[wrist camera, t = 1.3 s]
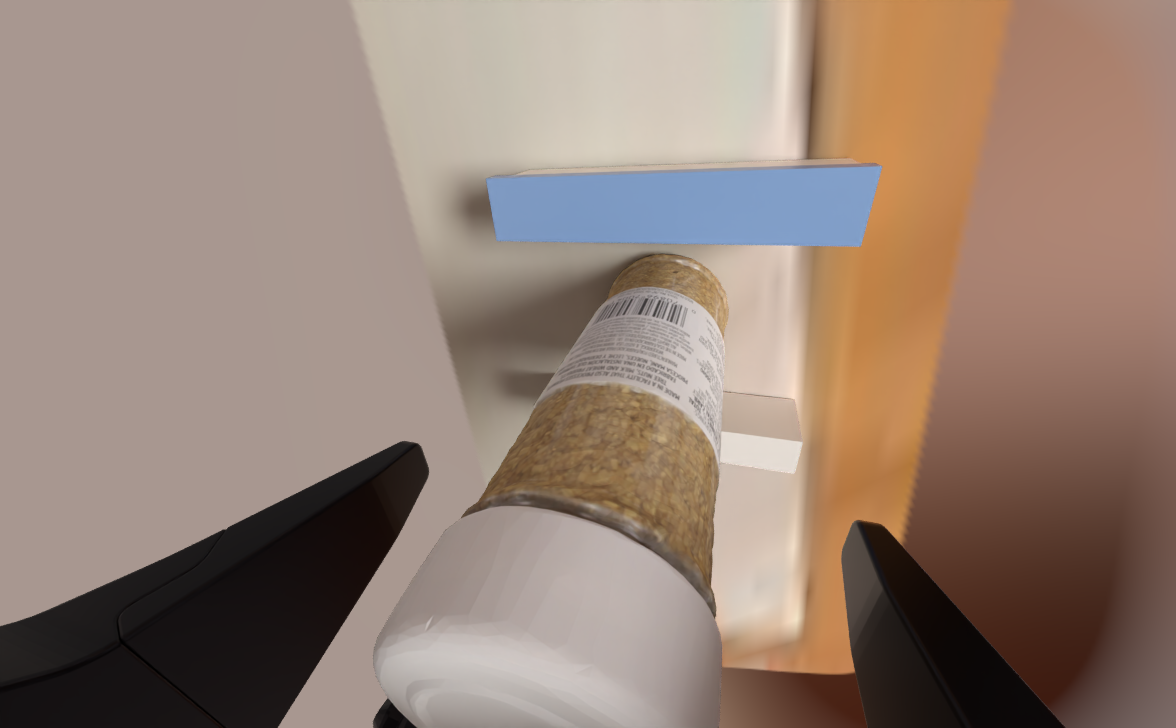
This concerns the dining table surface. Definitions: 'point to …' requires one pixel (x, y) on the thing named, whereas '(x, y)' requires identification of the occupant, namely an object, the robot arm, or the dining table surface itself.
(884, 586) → the robot arm
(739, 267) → the dining table surface
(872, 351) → the dining table surface
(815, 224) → the rail comb
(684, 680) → the sprinkles bottle
